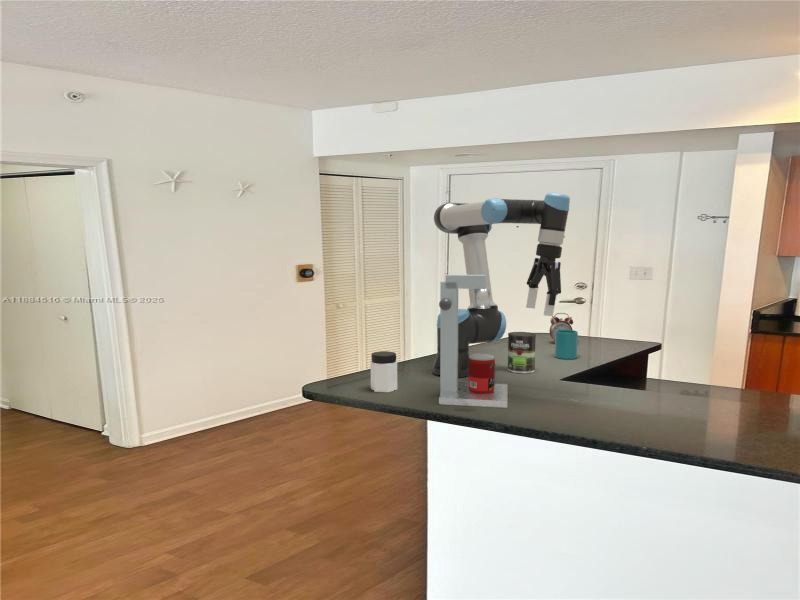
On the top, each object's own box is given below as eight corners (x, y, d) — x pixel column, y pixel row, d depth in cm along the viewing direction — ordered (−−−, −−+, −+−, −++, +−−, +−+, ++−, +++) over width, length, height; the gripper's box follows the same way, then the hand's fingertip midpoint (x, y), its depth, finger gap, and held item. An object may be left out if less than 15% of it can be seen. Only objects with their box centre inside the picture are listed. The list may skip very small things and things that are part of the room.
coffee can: (533, 374, 198) (533, 336, 196) (505, 372, 201) (505, 334, 200) (537, 368, 207) (537, 332, 206) (510, 366, 211) (510, 331, 210)
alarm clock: (549, 344, 259) (550, 313, 258) (548, 342, 264) (549, 312, 263) (573, 344, 258) (574, 313, 256) (571, 343, 262) (572, 312, 261)
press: (445, 387, 180) (445, 273, 176) (507, 390, 176) (509, 273, 172) (435, 406, 158) (435, 277, 154) (507, 410, 154) (509, 277, 150)
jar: (400, 391, 175) (400, 355, 174) (376, 393, 172) (376, 356, 171) (391, 385, 184) (391, 350, 182) (368, 387, 181) (368, 351, 180)
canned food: (494, 394, 163) (494, 358, 162) (467, 393, 165) (467, 357, 164) (494, 388, 171) (495, 353, 170) (469, 387, 172) (469, 353, 171)
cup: (586, 357, 228) (586, 331, 227) (567, 360, 222) (568, 333, 220) (568, 353, 236) (569, 328, 235) (550, 357, 229) (550, 330, 228)
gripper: (580, 248, 155) (568, 320, 158) (544, 243, 180) (534, 306, 182) (556, 245, 154) (544, 317, 157) (523, 241, 178) (513, 304, 181)
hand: (538, 311), depth 170 cm, fingers open, 13 cm apart
